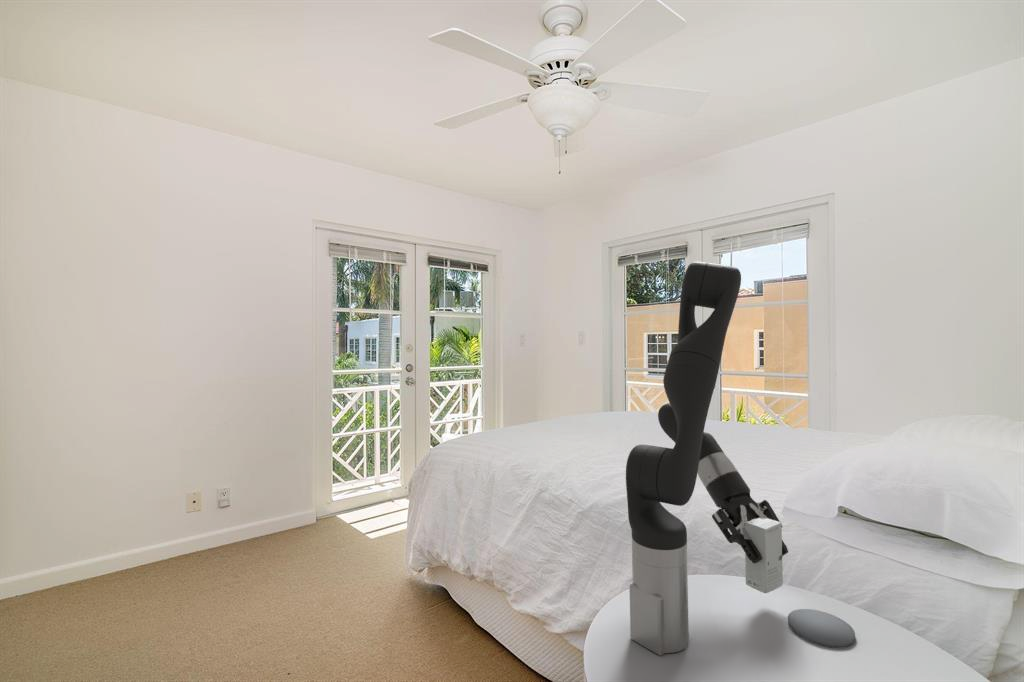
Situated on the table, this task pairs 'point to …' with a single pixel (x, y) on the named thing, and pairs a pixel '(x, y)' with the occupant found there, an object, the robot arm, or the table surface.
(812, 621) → the coaster mat
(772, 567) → the skincare box
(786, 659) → the table surface
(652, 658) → the table surface
